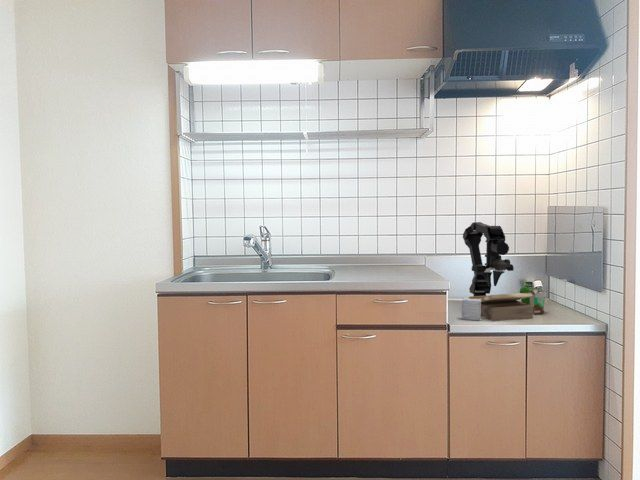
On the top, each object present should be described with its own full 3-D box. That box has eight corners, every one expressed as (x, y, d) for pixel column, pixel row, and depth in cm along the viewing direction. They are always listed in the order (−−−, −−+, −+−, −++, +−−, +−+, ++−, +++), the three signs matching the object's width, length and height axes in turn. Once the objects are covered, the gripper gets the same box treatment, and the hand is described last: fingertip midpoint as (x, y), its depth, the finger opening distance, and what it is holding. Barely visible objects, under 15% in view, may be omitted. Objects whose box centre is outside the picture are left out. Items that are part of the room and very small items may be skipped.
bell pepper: (534, 302, 263) (534, 282, 262) (539, 305, 255) (539, 285, 254) (517, 301, 264) (517, 282, 263) (521, 305, 256) (522, 285, 255)
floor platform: (468, 311, 242) (468, 296, 242) (506, 308, 247) (506, 294, 246) (492, 320, 223) (492, 304, 222) (533, 318, 228) (533, 302, 227)
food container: (548, 315, 233) (549, 293, 232) (534, 314, 234) (534, 293, 233) (542, 309, 245) (543, 288, 244) (529, 309, 246) (529, 288, 245)
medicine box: (480, 318, 227) (481, 299, 227) (480, 320, 223) (480, 301, 222) (462, 317, 230) (462, 298, 229) (461, 319, 226) (461, 300, 225)
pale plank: (477, 302, 234) (477, 299, 234) (516, 300, 239) (516, 297, 239) (492, 298, 223) (491, 294, 223) (532, 296, 228) (531, 292, 228)
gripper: (484, 255, 229) (483, 290, 230) (521, 253, 234) (520, 288, 235) (471, 252, 240) (470, 286, 241) (506, 251, 244) (506, 284, 245)
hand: (492, 286), depth 240 cm, fingers open, 3 cm apart
